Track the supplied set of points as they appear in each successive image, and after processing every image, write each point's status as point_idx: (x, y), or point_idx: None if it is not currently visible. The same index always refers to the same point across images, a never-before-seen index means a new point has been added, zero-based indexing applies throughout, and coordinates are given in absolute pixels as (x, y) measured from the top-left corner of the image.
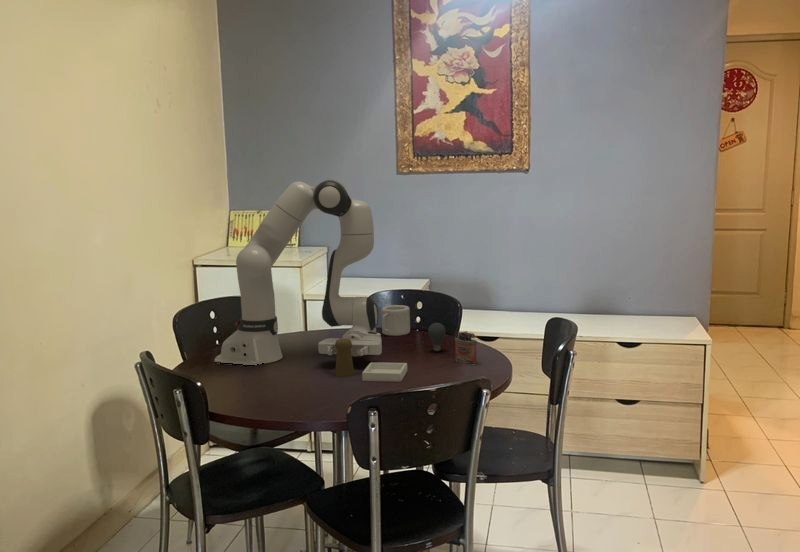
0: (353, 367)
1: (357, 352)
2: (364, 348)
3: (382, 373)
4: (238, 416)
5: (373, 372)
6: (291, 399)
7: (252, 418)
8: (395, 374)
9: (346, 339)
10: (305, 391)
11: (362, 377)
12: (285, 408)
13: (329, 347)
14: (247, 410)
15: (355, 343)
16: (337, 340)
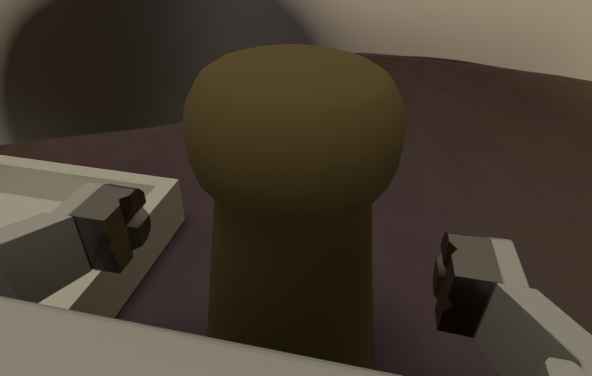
0: (207, 336)
1: (144, 200)
2: (19, 223)
3: (68, 165)
4: (526, 71)
5: (110, 177)
6: (453, 114)
7: (484, 65)
8: (5, 159)
9: (252, 52)
10: (440, 152)
11: (181, 203)
12: (435, 84)
13: (550, 320)
14: (532, 84)
15: (64, 324)
16: (373, 63)
